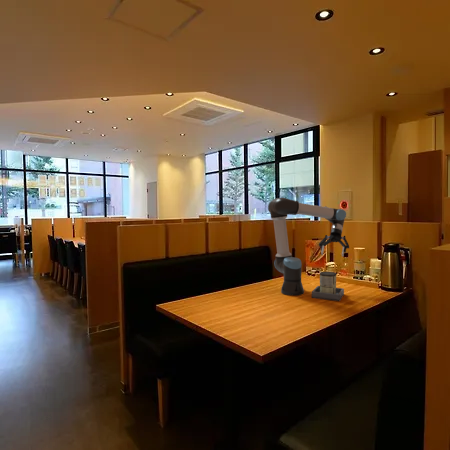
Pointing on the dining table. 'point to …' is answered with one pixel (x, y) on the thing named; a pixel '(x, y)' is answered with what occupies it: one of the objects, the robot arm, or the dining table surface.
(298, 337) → the dining table surface
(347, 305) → the dining table surface
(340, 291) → the tray
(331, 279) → the coffee can
